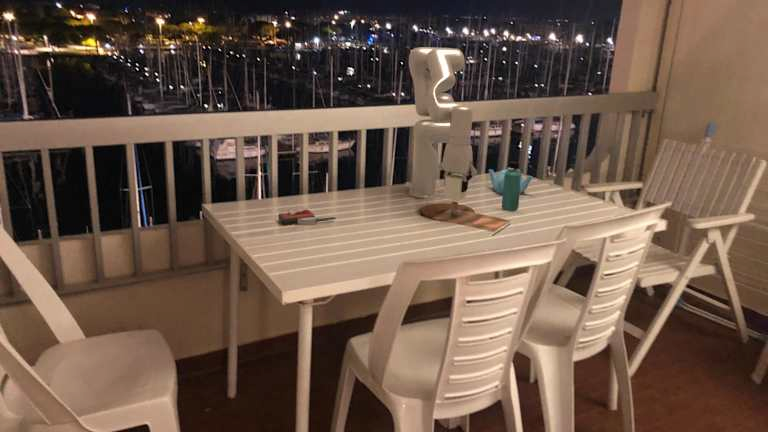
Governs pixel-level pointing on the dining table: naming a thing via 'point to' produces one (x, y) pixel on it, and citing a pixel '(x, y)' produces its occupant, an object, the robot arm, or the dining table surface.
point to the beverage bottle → (511, 188)
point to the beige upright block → (454, 187)
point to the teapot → (499, 181)
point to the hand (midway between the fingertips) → (455, 189)
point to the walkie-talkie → (300, 217)
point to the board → (472, 219)
